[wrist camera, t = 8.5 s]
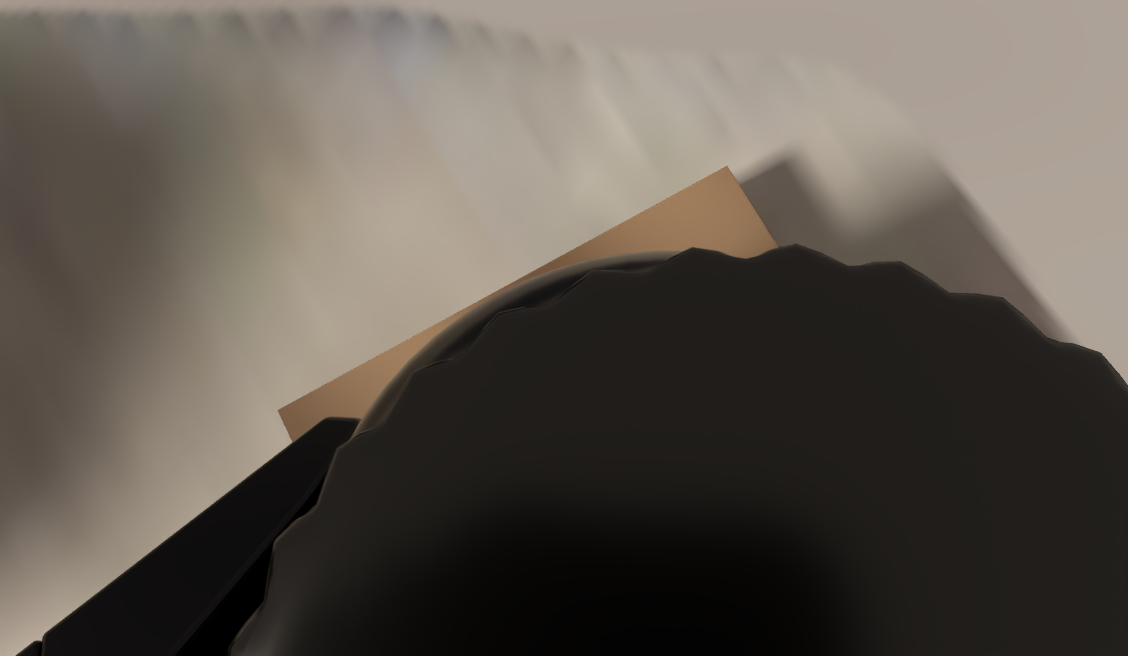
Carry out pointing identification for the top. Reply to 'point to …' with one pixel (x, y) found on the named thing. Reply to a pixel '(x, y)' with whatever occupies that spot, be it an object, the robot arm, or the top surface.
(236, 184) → the top surface
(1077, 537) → the supplement bottle
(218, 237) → the top surface
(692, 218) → the tan slab
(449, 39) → the top surface
